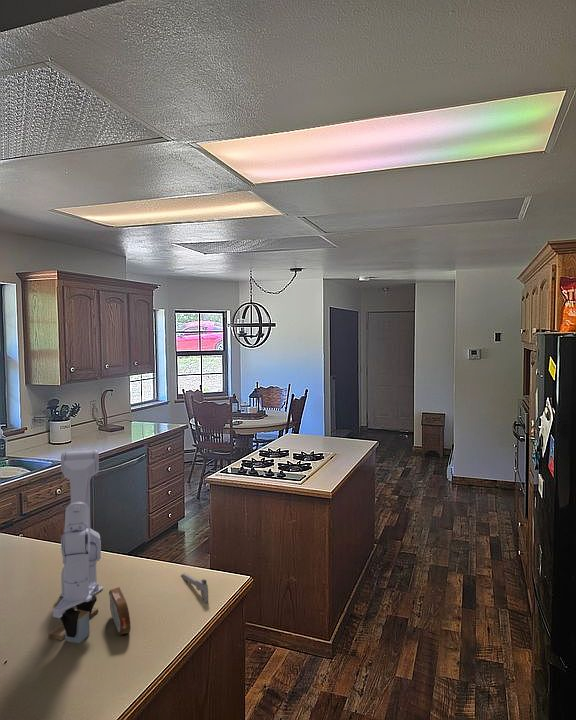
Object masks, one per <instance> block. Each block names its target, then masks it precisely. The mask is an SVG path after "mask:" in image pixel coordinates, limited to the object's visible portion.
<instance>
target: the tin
mask: <svg viewBox="0 0 576 720" xmlns="http://www.w3.org/2000/svg"><path fill="white" fill-rule="evenodd" d="M108 595H109V609H110V613H111V614H110V615H111V618H112V621H113V624H114V626H115V628H116V631H117V633H118V635H119V636H121V635H125V634H128V633H131V617H130V612H129V606H128V603H127V600H126V597H125V596H124V593H123V592H122V589H121V587H120V586H118V587H115V588H112V589H110V590H109V591H108Z"/></svg>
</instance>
